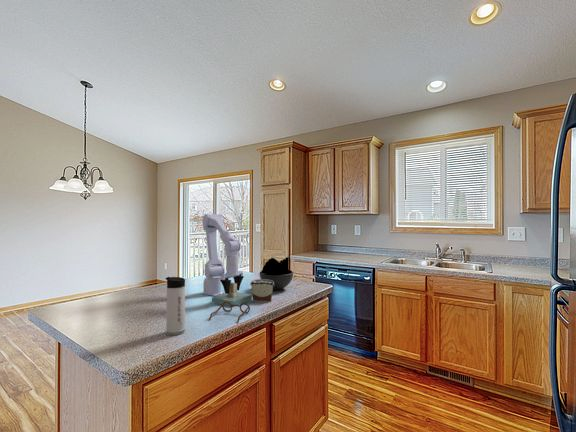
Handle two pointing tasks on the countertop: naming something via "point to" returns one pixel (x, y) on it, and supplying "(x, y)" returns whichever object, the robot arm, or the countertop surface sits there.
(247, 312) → the glasses
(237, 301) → the holder plate
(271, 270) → the bowl of black rocks
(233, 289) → the wood stick
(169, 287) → the travel mug
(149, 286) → the countertop surface
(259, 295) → the food container
